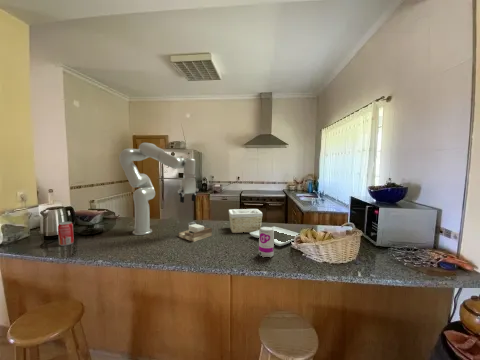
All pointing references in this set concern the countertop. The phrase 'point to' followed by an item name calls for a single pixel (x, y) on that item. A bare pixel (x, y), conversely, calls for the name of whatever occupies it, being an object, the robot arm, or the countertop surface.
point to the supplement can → (266, 242)
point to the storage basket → (245, 220)
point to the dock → (196, 234)
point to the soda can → (65, 233)
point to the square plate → (280, 230)
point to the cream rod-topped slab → (195, 227)
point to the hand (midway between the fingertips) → (187, 201)
